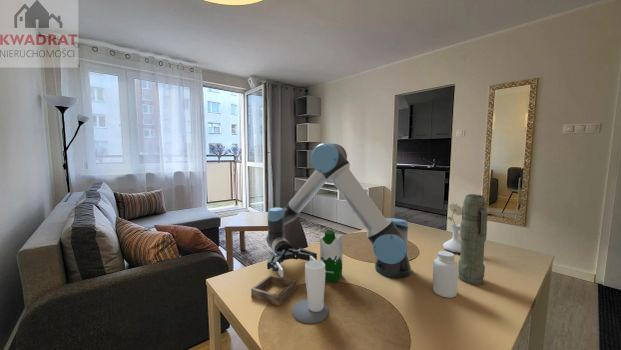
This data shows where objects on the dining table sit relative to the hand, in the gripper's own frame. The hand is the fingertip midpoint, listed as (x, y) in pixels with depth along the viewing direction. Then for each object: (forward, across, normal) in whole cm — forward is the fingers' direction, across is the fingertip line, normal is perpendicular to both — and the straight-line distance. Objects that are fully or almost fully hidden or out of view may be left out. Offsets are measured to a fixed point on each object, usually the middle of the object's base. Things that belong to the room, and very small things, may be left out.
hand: (300, 269), depth 89 cm
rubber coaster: (+8, 0, -11) cm, 14 cm away
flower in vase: (-7, -91, -11) cm, 92 cm away
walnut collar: (-7, +8, -11) cm, 15 cm away
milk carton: (-8, -17, -11) cm, 22 cm away
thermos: (+17, -68, -11) cm, 71 cm away
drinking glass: (+8, -2, -10) cm, 13 cm away
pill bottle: (+19, -50, -11) cm, 55 cm away
